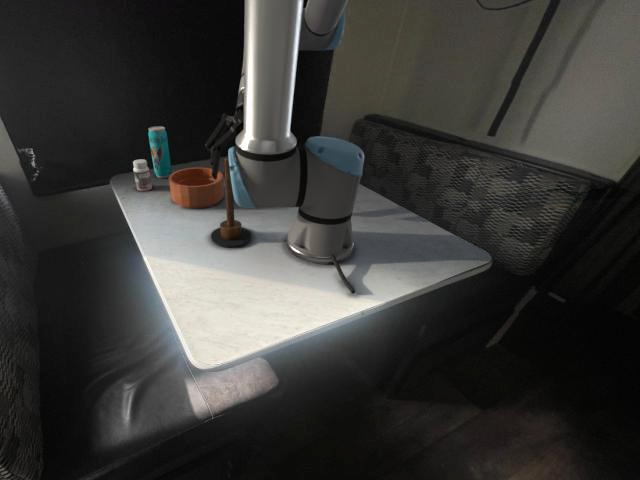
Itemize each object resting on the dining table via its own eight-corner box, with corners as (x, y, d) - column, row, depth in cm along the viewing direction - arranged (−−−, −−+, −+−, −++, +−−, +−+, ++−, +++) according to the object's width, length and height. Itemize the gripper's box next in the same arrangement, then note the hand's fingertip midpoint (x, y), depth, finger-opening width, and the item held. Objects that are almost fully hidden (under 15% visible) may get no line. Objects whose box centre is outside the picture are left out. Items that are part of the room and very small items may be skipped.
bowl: (222, 209, 94) (221, 187, 90) (167, 209, 95) (164, 186, 91) (225, 188, 106) (224, 167, 102) (176, 188, 107) (173, 167, 102)
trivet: (251, 248, 79) (251, 246, 78) (209, 247, 79) (209, 245, 78) (251, 227, 86) (251, 225, 86) (212, 227, 86) (212, 225, 86)
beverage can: (152, 177, 113) (144, 129, 104) (160, 172, 118) (152, 125, 108) (167, 179, 112) (160, 131, 102) (174, 173, 116) (168, 126, 107)
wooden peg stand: (241, 239, 80) (240, 162, 69) (219, 239, 80) (215, 162, 69) (241, 229, 84) (240, 155, 73) (221, 229, 84) (217, 155, 73)
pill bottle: (136, 186, 108) (130, 159, 102) (150, 184, 109) (146, 157, 103) (138, 191, 104) (132, 164, 99) (153, 189, 106) (148, 162, 100)
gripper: (300, 110, 87) (289, 189, 85) (209, 107, 91) (196, 181, 89) (301, 90, 79) (289, 175, 78) (201, 87, 83) (188, 168, 82)
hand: (240, 179), depth 84 cm, fingers open, 13 cm apart
